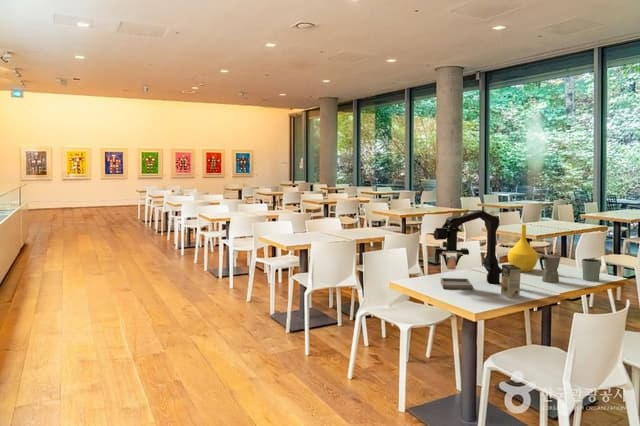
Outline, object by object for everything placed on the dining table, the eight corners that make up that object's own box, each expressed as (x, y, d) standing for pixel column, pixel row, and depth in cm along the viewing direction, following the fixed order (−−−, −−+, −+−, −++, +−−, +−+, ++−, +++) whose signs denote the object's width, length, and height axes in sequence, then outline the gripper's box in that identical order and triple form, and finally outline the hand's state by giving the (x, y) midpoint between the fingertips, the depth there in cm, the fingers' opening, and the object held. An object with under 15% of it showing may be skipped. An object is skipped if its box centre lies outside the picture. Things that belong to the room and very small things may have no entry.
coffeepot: (552, 278, 301) (554, 249, 299) (565, 282, 292) (566, 252, 290) (532, 280, 296) (534, 251, 294) (544, 284, 287) (546, 254, 285)
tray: (467, 282, 293) (467, 278, 292) (471, 289, 277) (471, 285, 277) (440, 282, 295) (440, 278, 294) (443, 288, 279) (443, 284, 279)
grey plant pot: (604, 281, 294) (605, 261, 292) (590, 282, 291) (591, 262, 289) (590, 277, 303) (591, 258, 302) (577, 278, 300) (578, 259, 299)
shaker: (455, 267, 287) (455, 255, 286) (456, 269, 282) (456, 257, 282) (446, 267, 288) (446, 255, 287) (447, 269, 283) (447, 257, 282)
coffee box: (500, 293, 269) (501, 264, 267) (511, 293, 269) (512, 264, 268) (508, 298, 260) (509, 268, 258) (520, 297, 260) (521, 267, 259)
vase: (543, 272, 317) (545, 226, 314) (518, 274, 313) (520, 227, 309) (525, 266, 334) (527, 222, 331) (501, 268, 330) (502, 223, 327)
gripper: (466, 237, 290) (465, 263, 292) (433, 236, 293) (433, 262, 294) (469, 240, 279) (468, 267, 281) (435, 239, 282) (435, 266, 283)
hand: (451, 265), depth 285 cm, fingers closed on shaker, 5 cm apart
